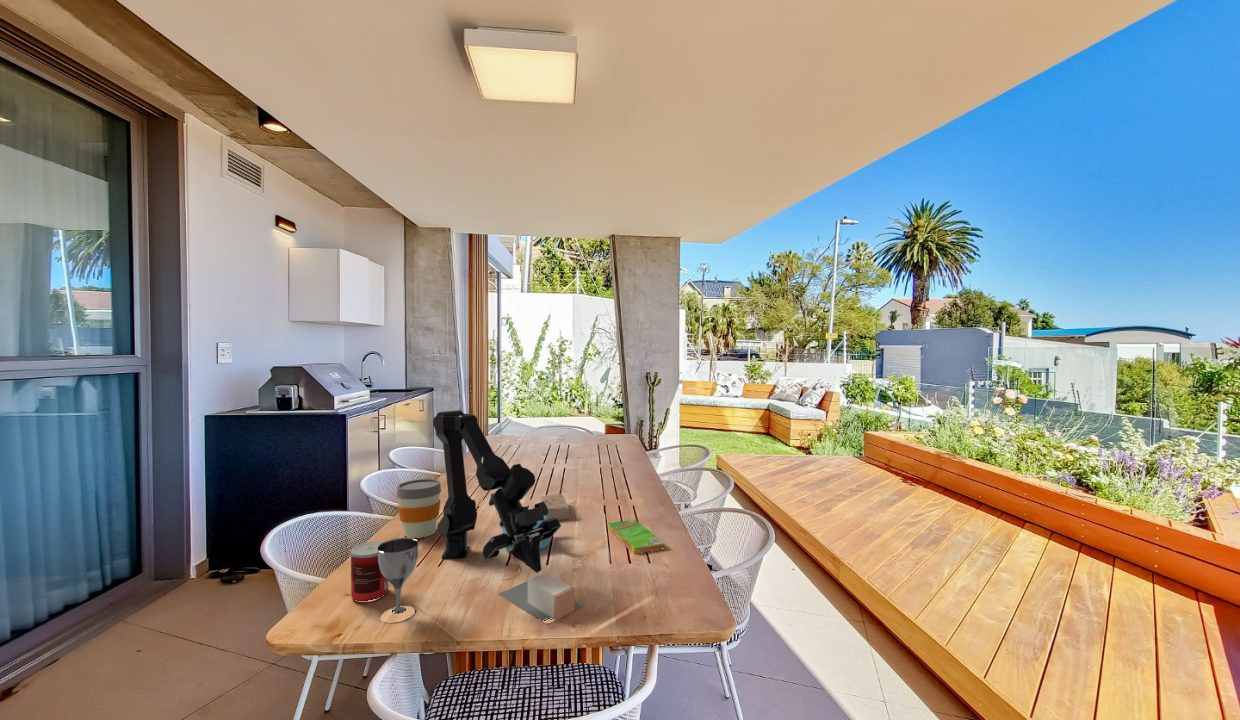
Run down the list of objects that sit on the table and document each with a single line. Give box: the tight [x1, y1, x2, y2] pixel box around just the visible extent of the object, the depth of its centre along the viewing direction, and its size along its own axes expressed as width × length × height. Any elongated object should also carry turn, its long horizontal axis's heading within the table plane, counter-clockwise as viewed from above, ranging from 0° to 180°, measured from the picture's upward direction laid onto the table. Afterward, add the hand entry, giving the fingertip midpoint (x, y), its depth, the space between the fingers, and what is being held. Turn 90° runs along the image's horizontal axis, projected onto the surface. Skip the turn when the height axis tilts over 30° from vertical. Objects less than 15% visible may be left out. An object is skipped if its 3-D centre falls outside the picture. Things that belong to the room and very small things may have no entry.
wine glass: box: [377, 537, 419, 614], centre depth 105 cm, size 8×8×15 cm
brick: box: [539, 493, 570, 521], centre depth 169 cm, size 16×8×5 cm, turn 14°
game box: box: [607, 519, 666, 555], centre depth 148 cm, size 3×10×20 cm
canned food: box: [350, 540, 389, 601], centre depth 113 cm, size 8×8×11 cm
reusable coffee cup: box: [396, 478, 442, 539], centre depth 149 cm, size 13×13×15 cm
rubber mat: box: [498, 580, 584, 622], centre depth 110 cm, size 18×10×1 cm, turn 47°
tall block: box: [527, 572, 576, 621], centre depth 107 cm, size 5×5×10 cm
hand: (539, 571), depth 110 cm, fingers closed
